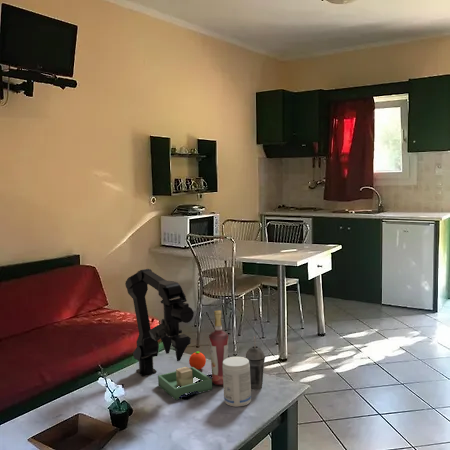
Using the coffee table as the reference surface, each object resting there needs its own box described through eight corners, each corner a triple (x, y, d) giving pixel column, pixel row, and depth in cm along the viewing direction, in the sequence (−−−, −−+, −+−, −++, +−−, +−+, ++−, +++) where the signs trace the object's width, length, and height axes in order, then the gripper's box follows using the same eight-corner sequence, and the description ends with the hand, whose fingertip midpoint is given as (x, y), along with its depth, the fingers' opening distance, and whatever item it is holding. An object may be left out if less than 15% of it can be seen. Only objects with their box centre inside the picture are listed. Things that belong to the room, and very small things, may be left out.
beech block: (176, 384, 194) (176, 369, 193) (187, 381, 196) (186, 366, 195) (182, 388, 190) (181, 373, 189) (192, 385, 192) (192, 370, 192)
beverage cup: (266, 383, 195) (264, 332, 193) (265, 391, 188) (264, 338, 185) (246, 383, 195) (245, 332, 193) (245, 391, 188) (244, 338, 186)
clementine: (191, 364, 216) (191, 348, 215) (208, 365, 215) (207, 348, 214) (187, 372, 208) (187, 354, 208) (204, 372, 207) (203, 355, 207)
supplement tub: (250, 395, 185) (249, 355, 184) (252, 407, 176) (251, 365, 174) (223, 396, 185) (221, 356, 183) (224, 408, 175) (222, 366, 174)
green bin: (158, 385, 196) (158, 375, 195) (193, 376, 203) (193, 366, 203) (175, 400, 183) (175, 389, 182) (212, 389, 191) (211, 379, 190)
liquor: (231, 386, 193) (228, 313, 190) (211, 387, 192) (209, 314, 189) (228, 378, 200) (226, 308, 198) (209, 380, 199) (207, 309, 197)
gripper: (141, 314, 195) (143, 354, 197) (162, 327, 179) (164, 370, 181) (168, 309, 201) (169, 348, 202) (190, 321, 185) (192, 363, 187)
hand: (172, 357), depth 193 cm, fingers open, 9 cm apart
